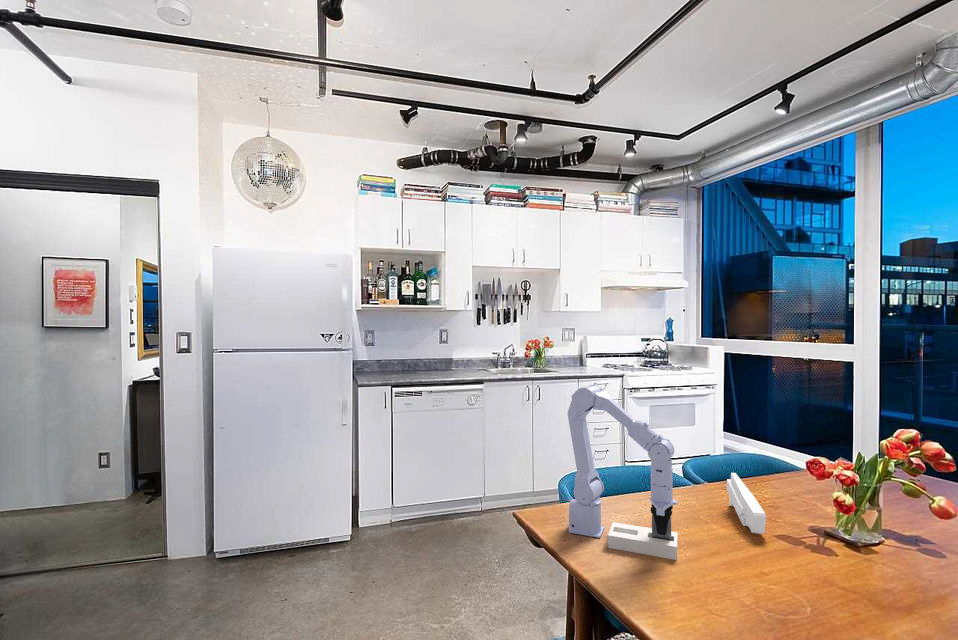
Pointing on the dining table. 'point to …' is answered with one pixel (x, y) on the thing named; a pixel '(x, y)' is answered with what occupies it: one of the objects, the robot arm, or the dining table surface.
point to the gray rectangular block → (658, 536)
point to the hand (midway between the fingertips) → (661, 532)
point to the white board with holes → (641, 541)
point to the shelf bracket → (746, 505)
